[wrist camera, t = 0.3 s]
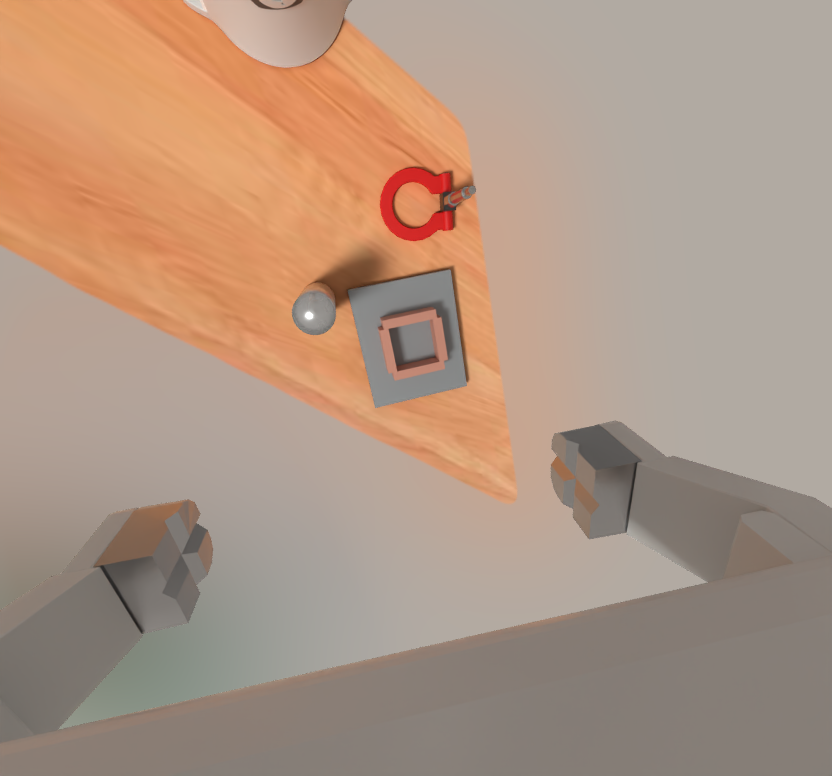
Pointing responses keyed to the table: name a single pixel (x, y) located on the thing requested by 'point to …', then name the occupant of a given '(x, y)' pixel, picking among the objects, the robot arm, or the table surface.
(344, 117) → the table surface
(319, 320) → the brushed steel cylinder
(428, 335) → the keeper
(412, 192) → the table surface
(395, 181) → the tow hook
